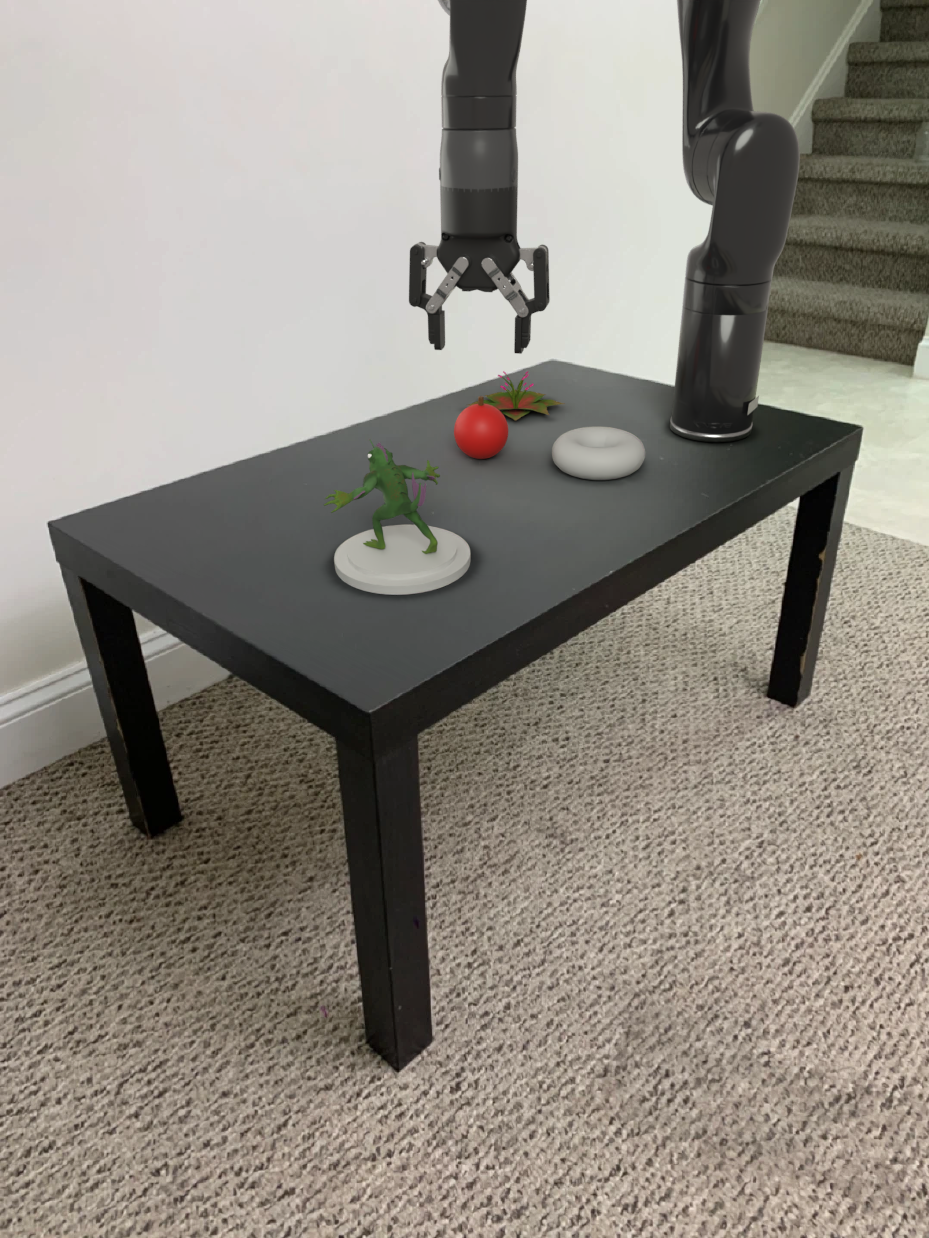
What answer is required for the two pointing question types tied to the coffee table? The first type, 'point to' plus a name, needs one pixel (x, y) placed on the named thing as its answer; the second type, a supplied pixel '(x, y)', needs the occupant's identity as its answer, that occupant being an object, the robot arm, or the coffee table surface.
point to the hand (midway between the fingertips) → (478, 350)
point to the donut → (598, 453)
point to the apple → (481, 430)
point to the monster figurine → (398, 536)
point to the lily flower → (518, 400)
